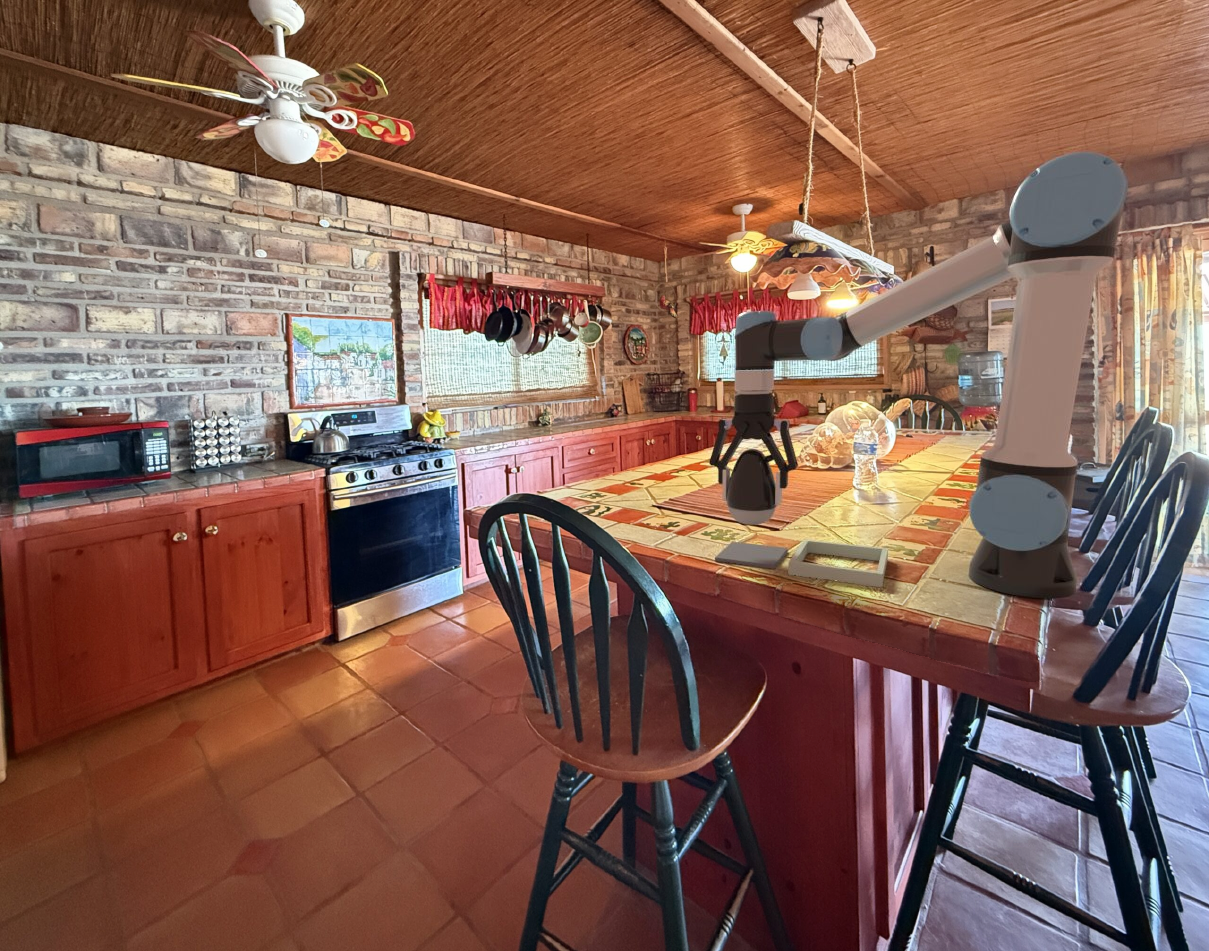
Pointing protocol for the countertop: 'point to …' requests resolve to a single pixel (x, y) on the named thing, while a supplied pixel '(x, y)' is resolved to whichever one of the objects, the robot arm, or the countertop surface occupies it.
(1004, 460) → the robot arm
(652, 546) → the countertop surface
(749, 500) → the pump dispenser
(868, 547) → the gray rectangular frame
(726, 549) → the mat
